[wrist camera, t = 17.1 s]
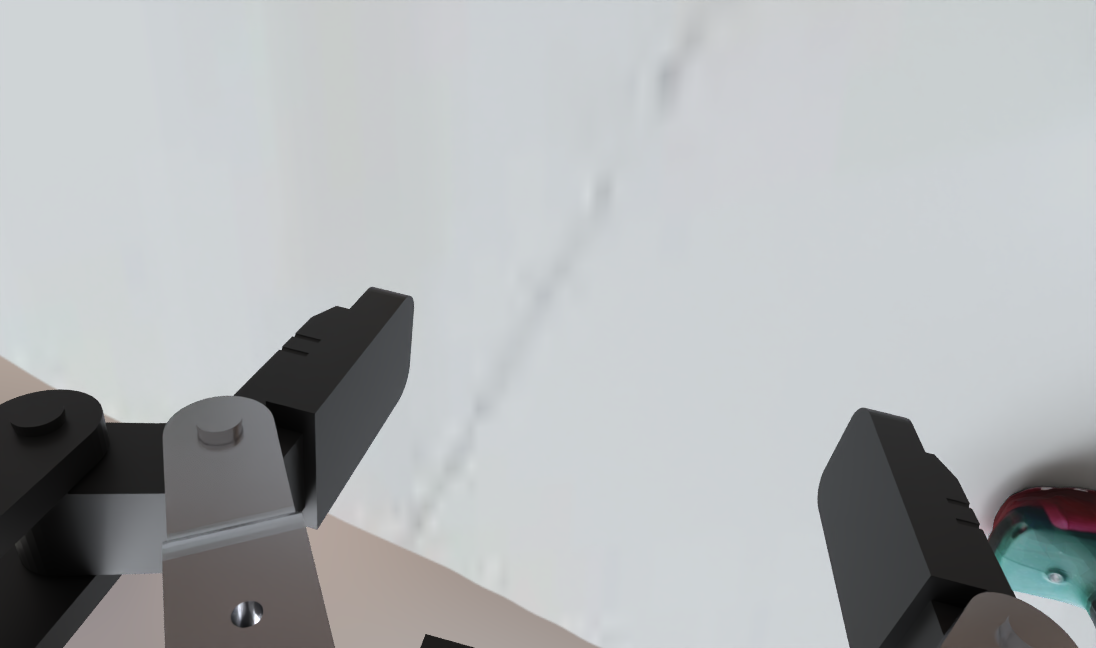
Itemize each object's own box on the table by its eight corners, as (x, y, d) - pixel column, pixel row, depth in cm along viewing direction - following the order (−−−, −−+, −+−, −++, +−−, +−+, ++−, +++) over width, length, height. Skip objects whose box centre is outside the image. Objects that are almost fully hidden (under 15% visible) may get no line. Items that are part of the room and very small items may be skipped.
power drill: (907, 468, 50) (1038, 739, 33) (1147, 486, 48) (1420, 786, 31) (885, 537, 54) (993, 815, 37) (1107, 557, 52) (1333, 861, 35)
